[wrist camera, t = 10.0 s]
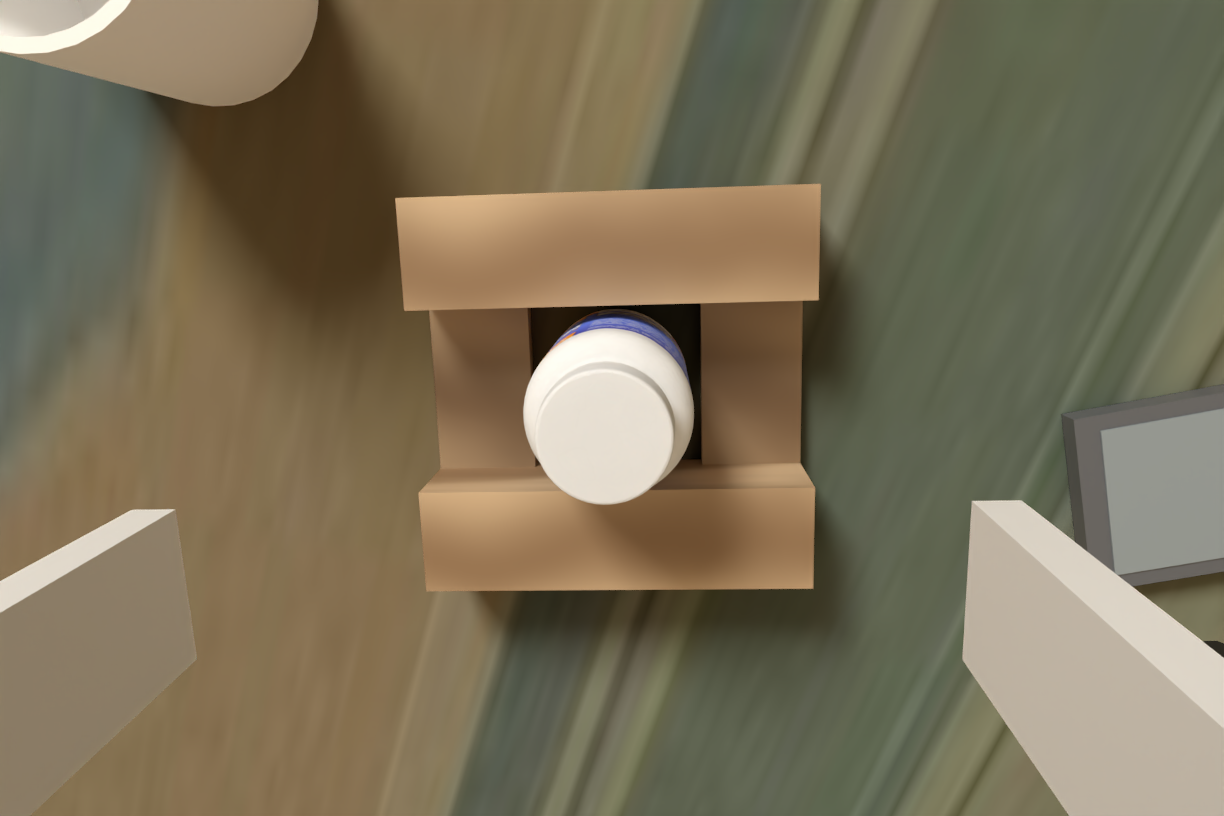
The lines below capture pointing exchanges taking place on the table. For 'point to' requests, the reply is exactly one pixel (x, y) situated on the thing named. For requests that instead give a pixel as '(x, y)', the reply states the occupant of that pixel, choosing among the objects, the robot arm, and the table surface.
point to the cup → (166, 43)
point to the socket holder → (605, 276)
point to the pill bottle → (610, 407)
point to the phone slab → (1150, 484)
